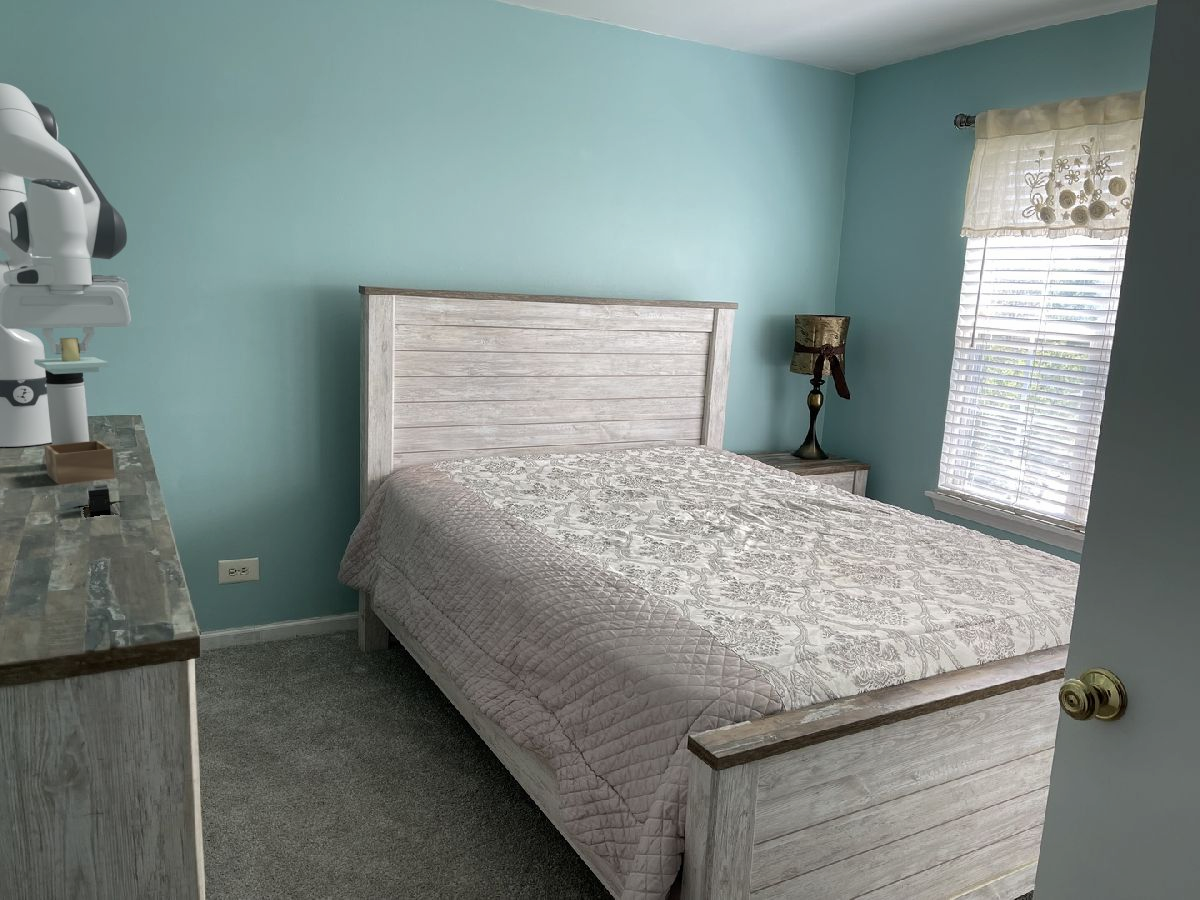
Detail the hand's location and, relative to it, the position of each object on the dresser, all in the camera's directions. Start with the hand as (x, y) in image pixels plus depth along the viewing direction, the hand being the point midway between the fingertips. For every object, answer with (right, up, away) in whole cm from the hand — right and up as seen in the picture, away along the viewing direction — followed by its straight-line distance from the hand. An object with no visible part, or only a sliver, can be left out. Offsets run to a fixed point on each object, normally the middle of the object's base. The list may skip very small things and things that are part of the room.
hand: (70, 353), depth 160 cm
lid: (0, -2, 0) cm, 2 cm away
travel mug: (-7, -21, +14) cm, 26 cm away
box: (-1, -23, +5) cm, 23 cm away
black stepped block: (+14, -28, -15) cm, 35 cm away
